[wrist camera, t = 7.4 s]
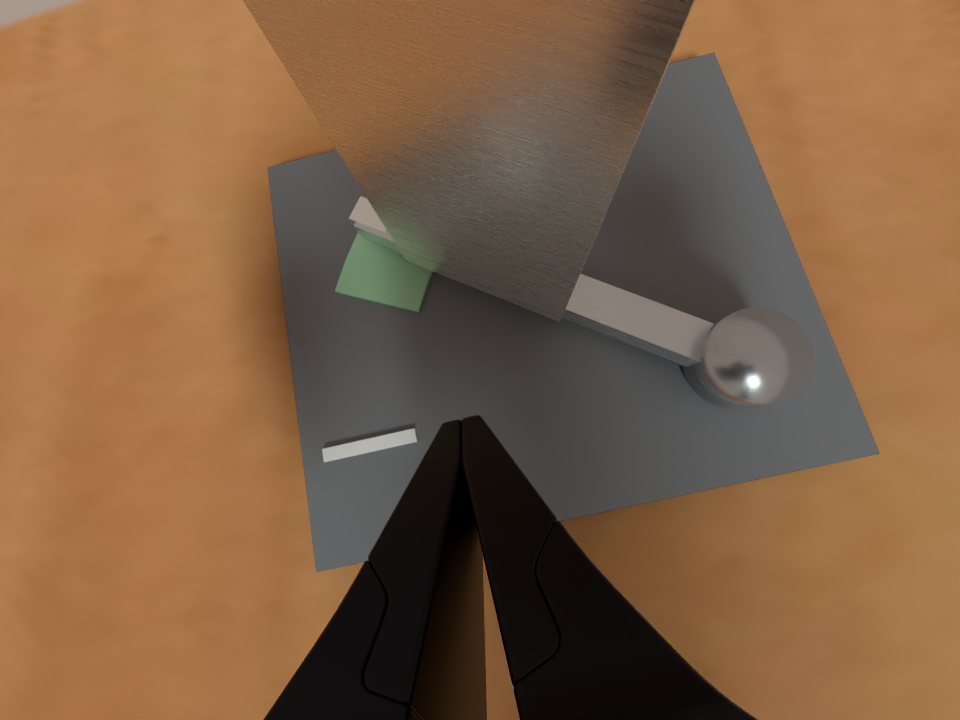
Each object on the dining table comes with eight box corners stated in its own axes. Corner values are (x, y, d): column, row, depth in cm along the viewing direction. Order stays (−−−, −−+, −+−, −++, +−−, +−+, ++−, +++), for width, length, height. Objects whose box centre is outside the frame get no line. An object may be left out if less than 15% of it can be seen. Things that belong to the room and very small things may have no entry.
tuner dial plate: (701, 69, 18) (714, 44, 16) (854, 451, 14) (885, 453, 13) (280, 177, 18) (264, 160, 17) (328, 563, 15) (313, 574, 14)
